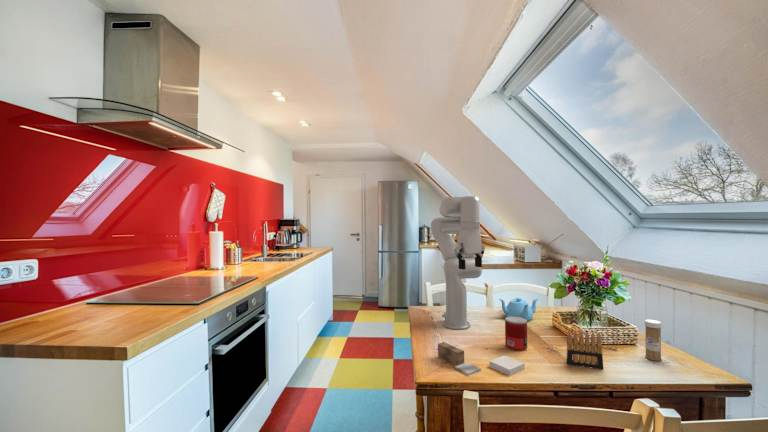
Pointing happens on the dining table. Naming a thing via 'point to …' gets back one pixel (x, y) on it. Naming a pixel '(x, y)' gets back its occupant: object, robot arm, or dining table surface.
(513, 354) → the dining table surface
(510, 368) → the tile
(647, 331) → the sprinkles bottle
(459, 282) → the robot arm
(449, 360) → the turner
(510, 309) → the teapot
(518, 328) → the canned food
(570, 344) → the ammunition clip
